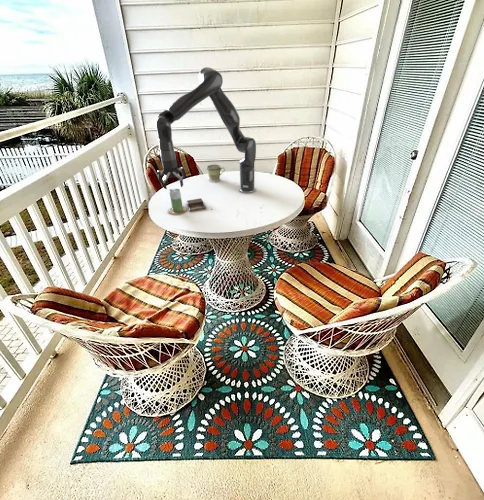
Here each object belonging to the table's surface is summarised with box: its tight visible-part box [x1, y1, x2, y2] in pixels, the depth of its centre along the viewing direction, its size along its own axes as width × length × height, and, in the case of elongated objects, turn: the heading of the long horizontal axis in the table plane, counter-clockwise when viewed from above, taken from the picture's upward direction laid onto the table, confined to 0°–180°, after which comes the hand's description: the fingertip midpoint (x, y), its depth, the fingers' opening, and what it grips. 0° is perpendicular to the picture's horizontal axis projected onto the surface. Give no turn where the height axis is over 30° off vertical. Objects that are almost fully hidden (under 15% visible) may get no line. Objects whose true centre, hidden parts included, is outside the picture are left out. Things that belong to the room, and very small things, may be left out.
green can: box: [168, 188, 184, 212], centre depth 155 cm, size 13×6×13 cm
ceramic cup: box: [206, 164, 226, 183], centre depth 196 cm, size 13×10×10 cm
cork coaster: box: [168, 206, 187, 215], centre depth 159 cm, size 10×10×1 cm
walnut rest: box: [186, 198, 206, 213], centre depth 161 cm, size 10×9×3 cm
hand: (173, 187), depth 151 cm, fingers open, 8 cm apart
